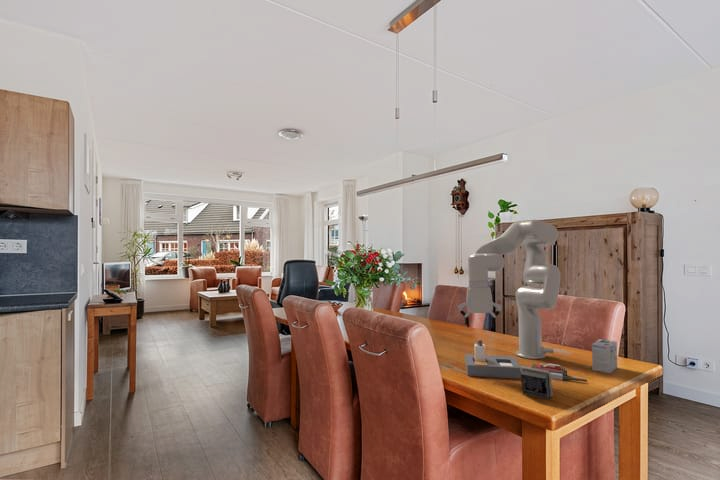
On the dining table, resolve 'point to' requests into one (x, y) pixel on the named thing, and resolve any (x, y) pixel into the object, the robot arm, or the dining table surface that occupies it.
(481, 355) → the white bottle
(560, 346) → the dining table surface
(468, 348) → the dining table surface
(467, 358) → the socket block
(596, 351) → the light bulb box
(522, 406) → the dining table surface
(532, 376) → the electrical switch
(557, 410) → the dining table surface
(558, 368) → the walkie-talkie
